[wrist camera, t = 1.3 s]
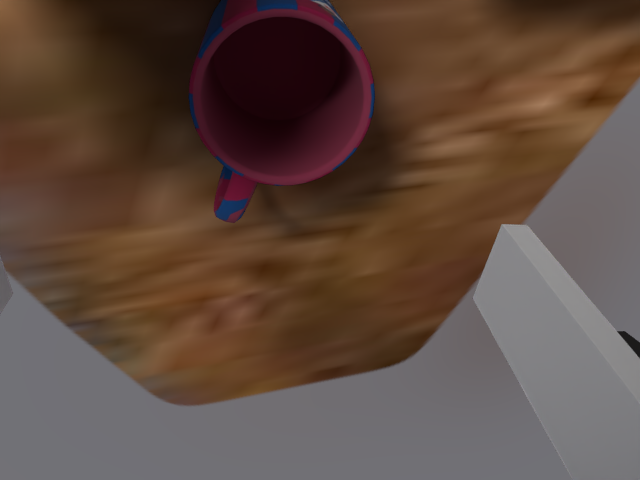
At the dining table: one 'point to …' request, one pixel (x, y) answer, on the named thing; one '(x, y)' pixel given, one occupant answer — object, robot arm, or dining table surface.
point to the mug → (278, 95)
